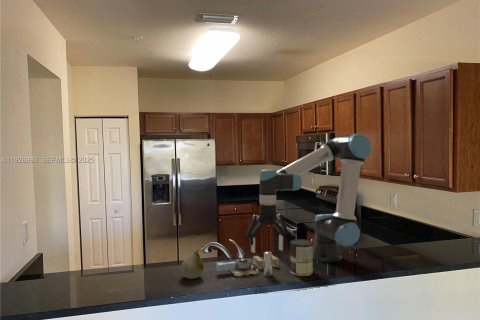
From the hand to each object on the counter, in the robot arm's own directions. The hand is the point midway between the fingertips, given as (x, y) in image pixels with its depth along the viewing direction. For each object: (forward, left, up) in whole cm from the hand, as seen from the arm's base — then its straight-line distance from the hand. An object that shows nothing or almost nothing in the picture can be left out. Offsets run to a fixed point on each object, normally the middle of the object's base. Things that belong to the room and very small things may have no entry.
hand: (267, 251), depth 159 cm
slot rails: (-4, -12, -11) cm, 17 cm away
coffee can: (-16, +2, -11) cm, 20 cm away
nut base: (+9, -8, -11) cm, 16 cm away
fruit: (+33, -8, -11) cm, 35 cm away
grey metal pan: (+13, -8, -9) cm, 18 cm away
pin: (0, 0, -11) cm, 11 cm away
